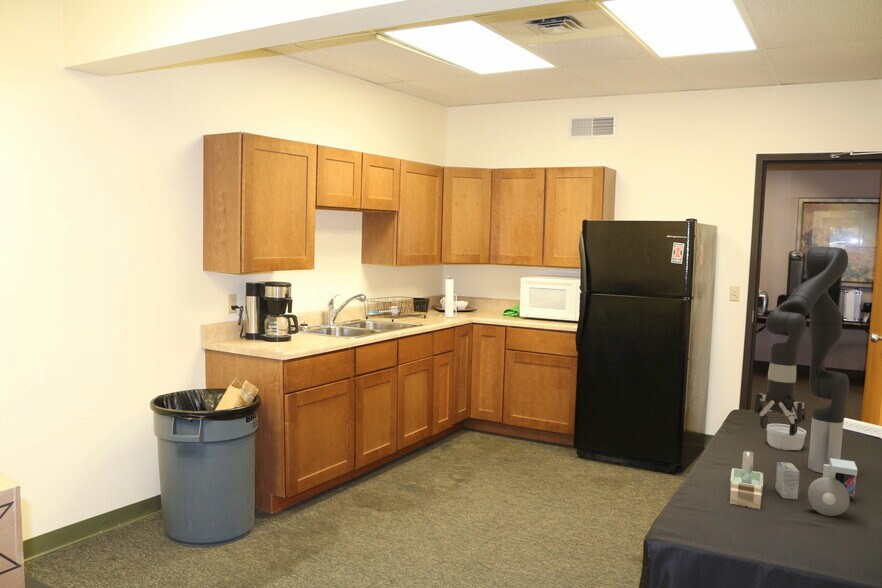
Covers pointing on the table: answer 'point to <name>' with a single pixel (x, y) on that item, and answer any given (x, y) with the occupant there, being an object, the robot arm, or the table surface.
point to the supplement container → (847, 483)
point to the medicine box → (787, 480)
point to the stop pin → (747, 467)
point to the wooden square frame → (745, 495)
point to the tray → (756, 480)
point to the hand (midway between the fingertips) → (777, 431)
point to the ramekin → (785, 437)
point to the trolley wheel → (831, 488)
